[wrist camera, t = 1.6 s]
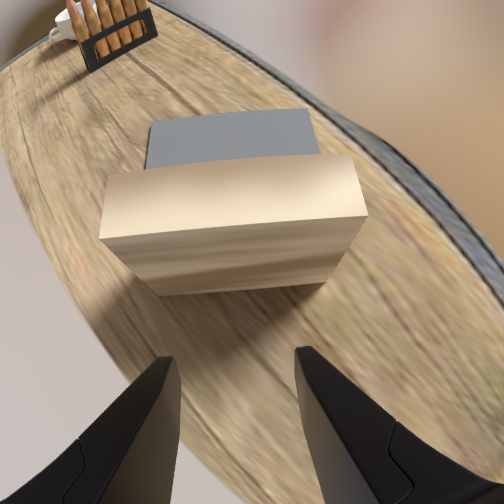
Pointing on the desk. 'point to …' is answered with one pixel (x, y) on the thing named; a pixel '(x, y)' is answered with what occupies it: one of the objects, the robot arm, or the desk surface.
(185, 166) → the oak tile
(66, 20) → the teacup
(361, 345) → the desk surface
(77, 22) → the ammunition clip
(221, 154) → the mat
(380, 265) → the desk surface
